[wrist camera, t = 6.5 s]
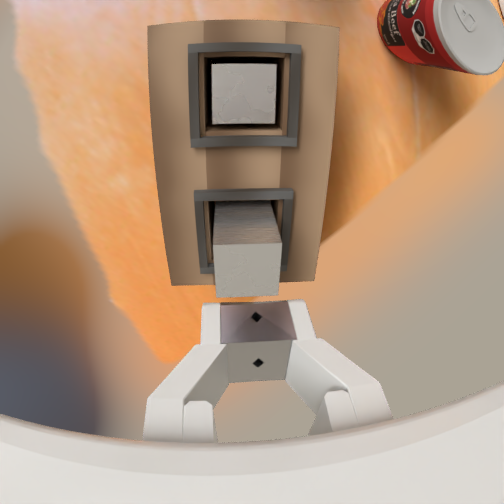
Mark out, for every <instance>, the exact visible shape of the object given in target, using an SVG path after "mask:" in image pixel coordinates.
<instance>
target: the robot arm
mask: <svg viewBox="0 0 504 504" xmlns="http://www.w3.org/2000/svg"><path fill="white" fill-rule="evenodd" d="M499 3H500V7H501V11H502V14H503V17H504V0H499ZM220 308H221V310H220ZM264 380H265V381H266V380H285V381H286V382H287V383H288V385H289V386H290V387H291V388H292V389H293V390H294V391H295V392H296V393H297V395H298V396H299V397H300V398H301V399H302V400H303V401H304V402H305V403H306V404H307V405H308V407H309V408H310V409H311V410H312V411H313V412H314V413H315V414H316V418H315V420H314V423H313V425H312V427H311V429H310V432H309V434H308V436H302V437H294V438H285V439H275V440H264V441H249V442H228V443H218V439H217V433H216V427H215V420H214V413H213V409H214V407H215V406H216V404H217V402H218V401H219V400H220V398H221V396H222V395H223V393H224V392H225V390H226V388H227V387H228V385H229V383H235V382H249V381H264ZM0 504H504V381H502V382H499V383H497V384H495V385H493V386H490V387H488V388H485V389H483V390H481V391H478V392H476V393H473V394H470V395H468V396H465V397H463V398H460V399H457V400H454V401H452V402H449V403H446V404H443V405H440V406H437V407H434V408H430V409H428V410H424V411H421V412H418V413H414V414H410V415H407V416H403V417H400V418H396V419H393V416H392V414H391V411H390V408H389V405H388V403H387V400H386V398H385V395H384V393H383V390H382V387H381V385H380V383H379V382H378V381H377V380H375V379H374V378H373V377H372V376H370V375H369V374H368V373H366V372H365V371H364V370H362V369H361V368H360V367H358V366H357V365H356V364H354V363H353V362H352V361H350V360H349V359H348V358H347V357H345V356H344V355H343V354H342V353H340V352H339V351H338V350H336V349H335V348H334V347H333V346H331V345H330V344H329V343H327V342H326V341H325V340H323V339H322V338H317V337H316V334H315V331H314V328H313V325H312V321H311V318H310V315H309V312H308V309H307V306H306V303H305V301H304V300H303V299H298V300H297V299H296V300H287V301H268V302H267V301H266V302H221V303H203V305H202V319H201V344H199V345H195V346H194V347H193V348H192V349H191V350H190V351H189V352H188V354H187V355H186V356H185V357H184V358H183V359H182V360H181V361H180V363H179V364H178V365H177V366H176V367H175V368H174V369H173V371H172V372H171V373H170V374H169V375H168V376H167V377H166V378H165V379H164V381H163V382H162V383H161V384H160V385H159V386H158V387H157V388H156V390H155V391H154V392H153V393H152V394H151V395H150V396H149V397H148V399H147V407H146V415H145V423H144V432H143V441H142V440H130V439H121V438H113V437H105V436H98V435H91V434H84V433H79V432H72V431H67V430H62V429H58V428H53V427H48V426H44V425H39V424H35V423H31V422H27V421H23V420H19V419H16V418H13V417H9V416H6V415H2V414H0Z"/></svg>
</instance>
